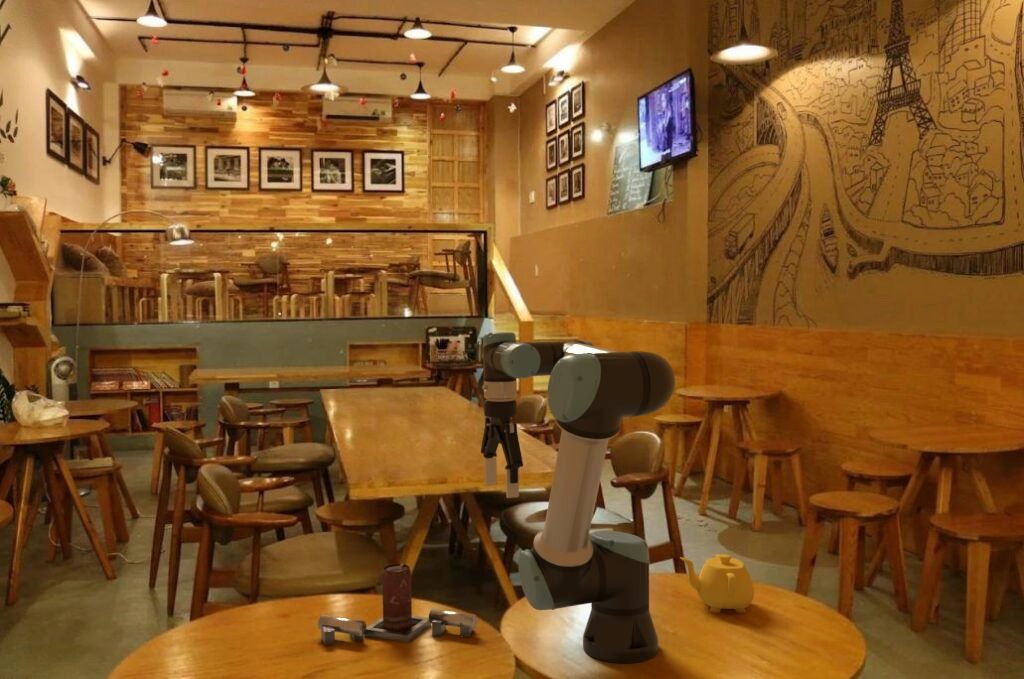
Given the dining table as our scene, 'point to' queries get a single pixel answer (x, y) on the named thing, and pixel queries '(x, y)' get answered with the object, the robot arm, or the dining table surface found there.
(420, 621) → the coupling rig
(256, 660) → the dining table surface
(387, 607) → the can
